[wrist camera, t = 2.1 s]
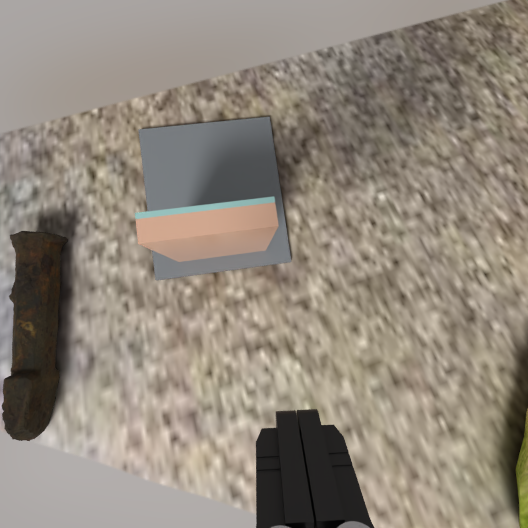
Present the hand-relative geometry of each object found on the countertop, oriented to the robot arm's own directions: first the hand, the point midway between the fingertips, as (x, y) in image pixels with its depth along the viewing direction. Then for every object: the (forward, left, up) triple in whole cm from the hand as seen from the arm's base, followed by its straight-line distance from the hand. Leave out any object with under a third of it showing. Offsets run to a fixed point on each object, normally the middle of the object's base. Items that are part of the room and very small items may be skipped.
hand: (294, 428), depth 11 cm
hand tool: (+20, -4, -21) cm, 30 cm away
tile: (+3, -10, -20) cm, 23 cm away
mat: (+3, -16, -21) cm, 26 cm away
